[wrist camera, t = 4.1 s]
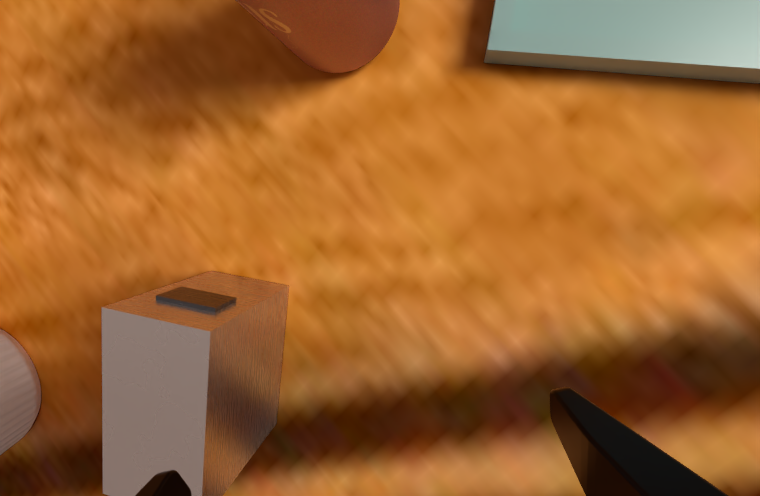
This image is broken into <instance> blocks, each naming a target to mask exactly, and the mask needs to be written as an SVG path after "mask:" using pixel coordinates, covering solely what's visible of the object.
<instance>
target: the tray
mask: <svg viewBox="0 0 760 496" xmlns="http://www.w3.org/2000/svg"><path fill="white" fill-rule="evenodd" d="M484 63H494V64H507V65H520V66H533V67H546V68H559V69H573V70H586V71H599V72H612V73H625V74H638V75H651V76H664V77H678V78H691V79H704V80H717V81H730V82H743V83H756V84H760V0H495V1H494V6H493V12H492V18H491V24H490V30H489V35H488V41H487V47H486V53H485V58H484Z"/></svg>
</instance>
